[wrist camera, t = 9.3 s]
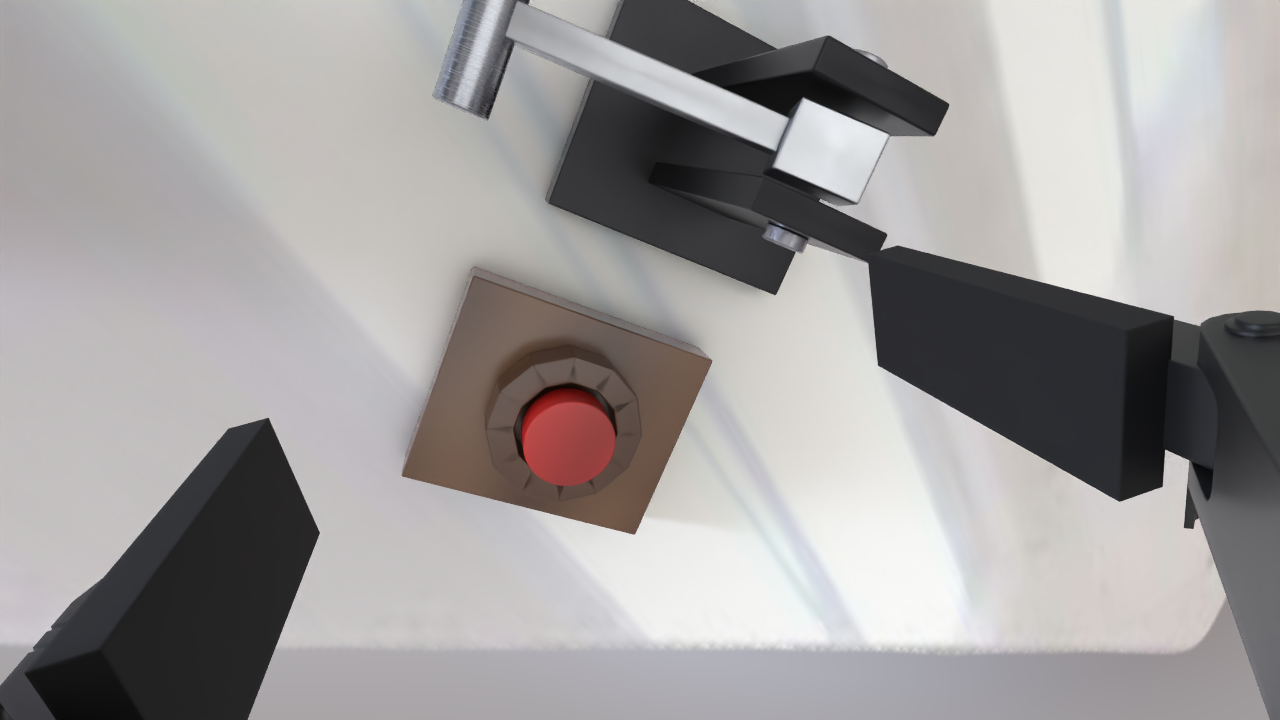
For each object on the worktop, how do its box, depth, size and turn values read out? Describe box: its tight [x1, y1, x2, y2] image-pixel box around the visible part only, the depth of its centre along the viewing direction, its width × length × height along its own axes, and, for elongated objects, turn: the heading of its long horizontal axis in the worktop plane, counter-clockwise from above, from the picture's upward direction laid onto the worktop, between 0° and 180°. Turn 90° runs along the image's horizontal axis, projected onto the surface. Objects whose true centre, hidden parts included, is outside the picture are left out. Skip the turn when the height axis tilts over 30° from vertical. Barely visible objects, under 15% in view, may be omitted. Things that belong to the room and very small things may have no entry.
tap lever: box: [433, 0, 890, 206], centre depth 21 cm, size 13×6×2 cm, turn 67°
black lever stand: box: [546, 0, 949, 295], centre depth 26 cm, size 12×10×14 cm
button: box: [521, 388, 616, 486], centre depth 30 cm, size 4×4×2 cm
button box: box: [402, 267, 712, 534], centre depth 33 cm, size 12×10×4 cm
